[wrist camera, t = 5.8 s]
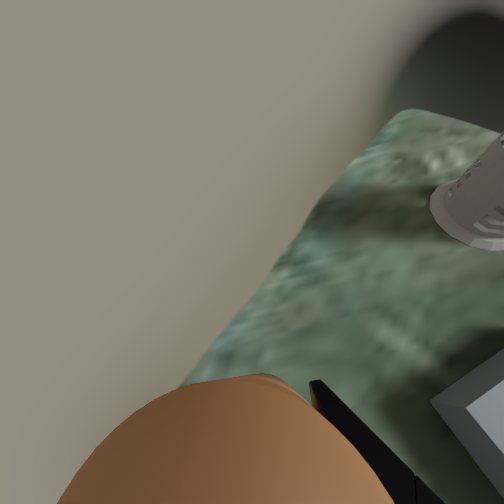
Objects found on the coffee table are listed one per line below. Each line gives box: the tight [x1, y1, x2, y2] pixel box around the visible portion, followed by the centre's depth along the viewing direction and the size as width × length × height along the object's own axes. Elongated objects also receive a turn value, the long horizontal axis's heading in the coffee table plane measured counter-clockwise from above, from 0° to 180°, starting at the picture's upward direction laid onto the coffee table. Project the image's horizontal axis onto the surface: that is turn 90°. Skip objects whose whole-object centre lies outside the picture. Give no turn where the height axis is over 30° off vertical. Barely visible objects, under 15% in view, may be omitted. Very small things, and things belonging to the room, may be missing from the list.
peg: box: [57, 373, 394, 504], centre depth 8 cm, size 4×4×12 cm
